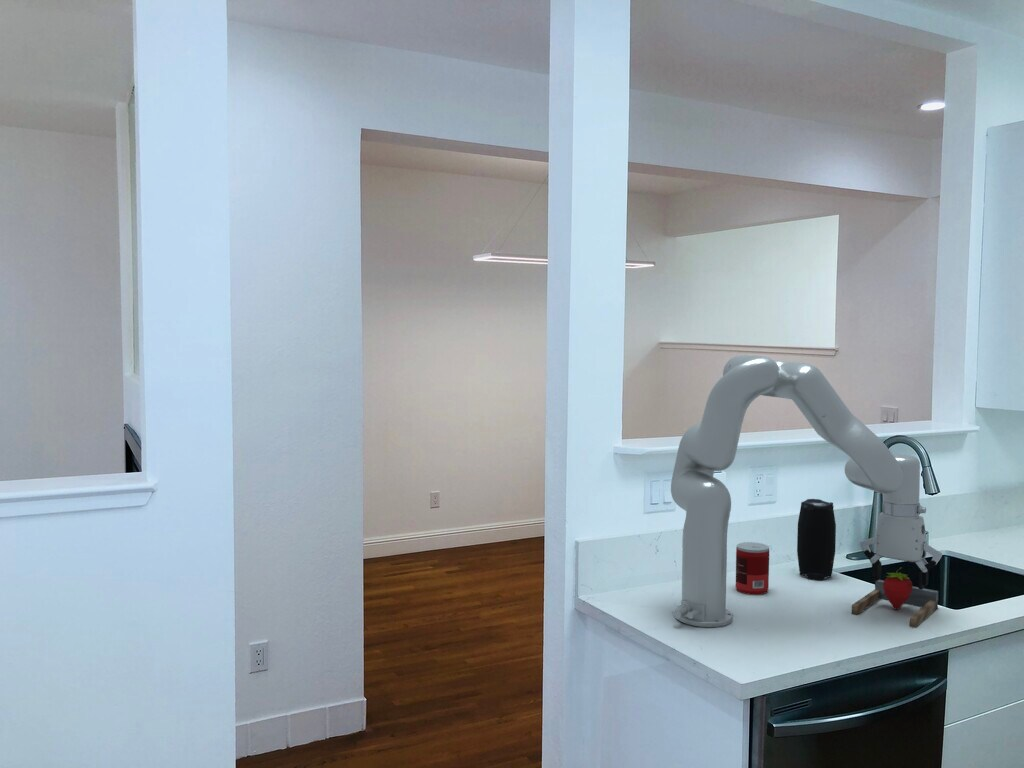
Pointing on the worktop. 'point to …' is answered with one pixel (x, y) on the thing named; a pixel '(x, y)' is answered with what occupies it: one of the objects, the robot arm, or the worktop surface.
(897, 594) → the strawberry
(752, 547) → the canned food
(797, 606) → the worktop surface
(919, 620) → the frame
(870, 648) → the worktop surface
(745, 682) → the worktop surface
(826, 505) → the portable speaker
